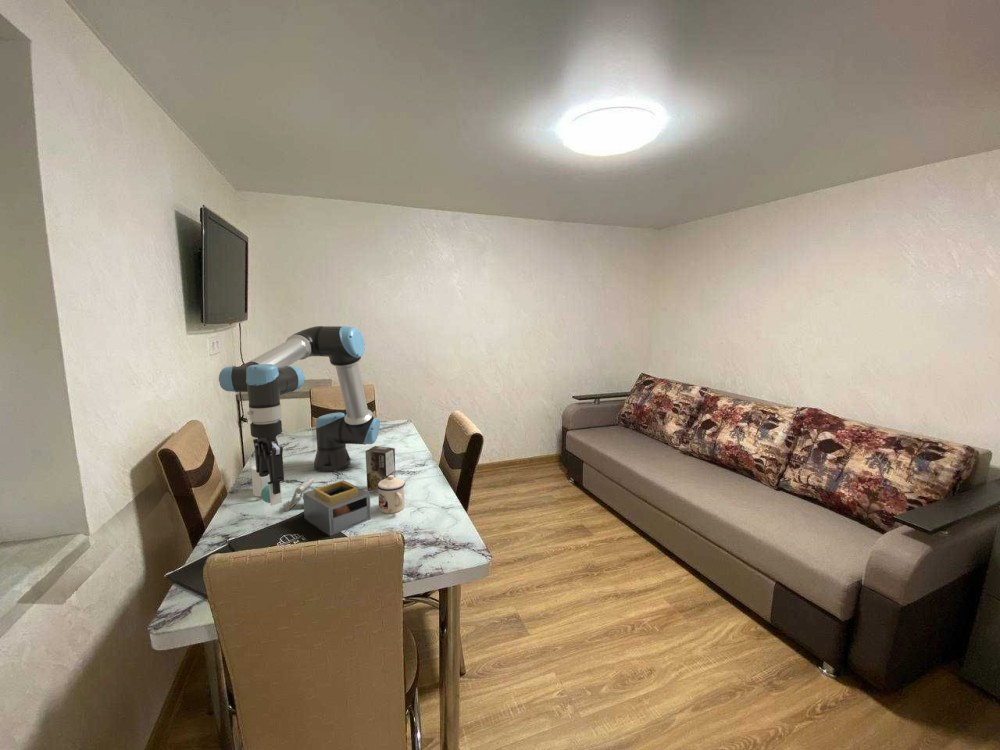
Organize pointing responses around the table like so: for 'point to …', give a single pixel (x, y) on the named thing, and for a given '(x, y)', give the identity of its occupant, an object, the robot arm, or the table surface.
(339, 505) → the grey slotted box
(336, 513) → the ball terracotta
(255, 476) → the mug
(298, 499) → the portable electronic device stand
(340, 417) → the robot arm
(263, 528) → the table surface
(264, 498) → the ball teal
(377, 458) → the coffee box
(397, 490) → the teacup with lid
